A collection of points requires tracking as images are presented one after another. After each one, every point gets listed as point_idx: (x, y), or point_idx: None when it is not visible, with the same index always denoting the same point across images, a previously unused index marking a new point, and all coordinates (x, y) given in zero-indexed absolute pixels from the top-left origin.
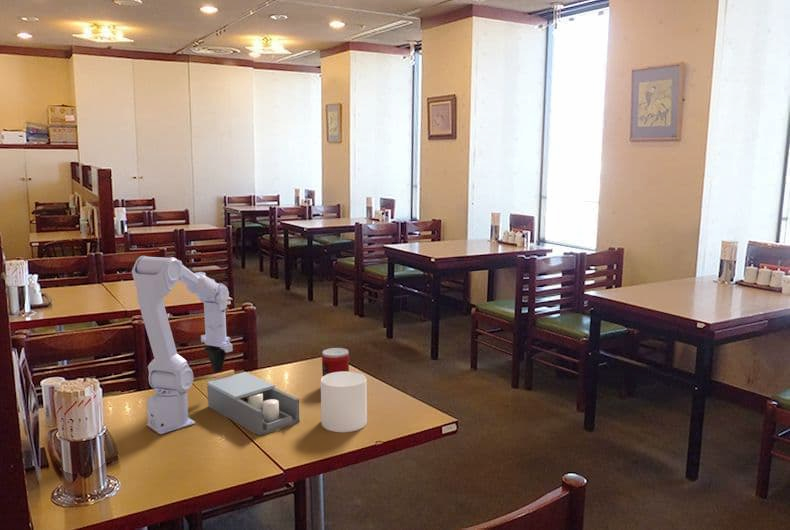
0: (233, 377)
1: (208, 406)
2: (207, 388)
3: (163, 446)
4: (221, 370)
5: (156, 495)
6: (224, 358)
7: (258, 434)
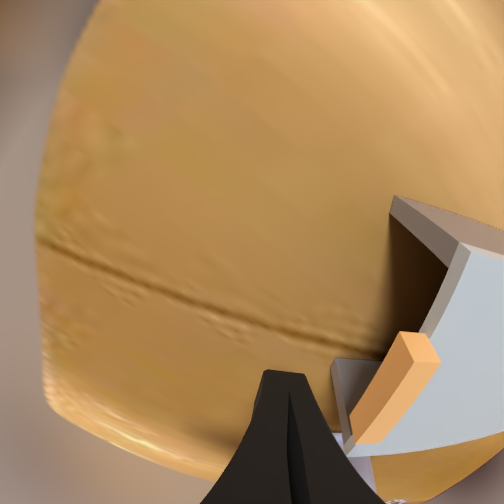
0: (445, 368)
1: (331, 368)
2: (341, 430)
3: (385, 473)
4: (305, 379)
5: (449, 482)
6: (350, 463)
7: None
